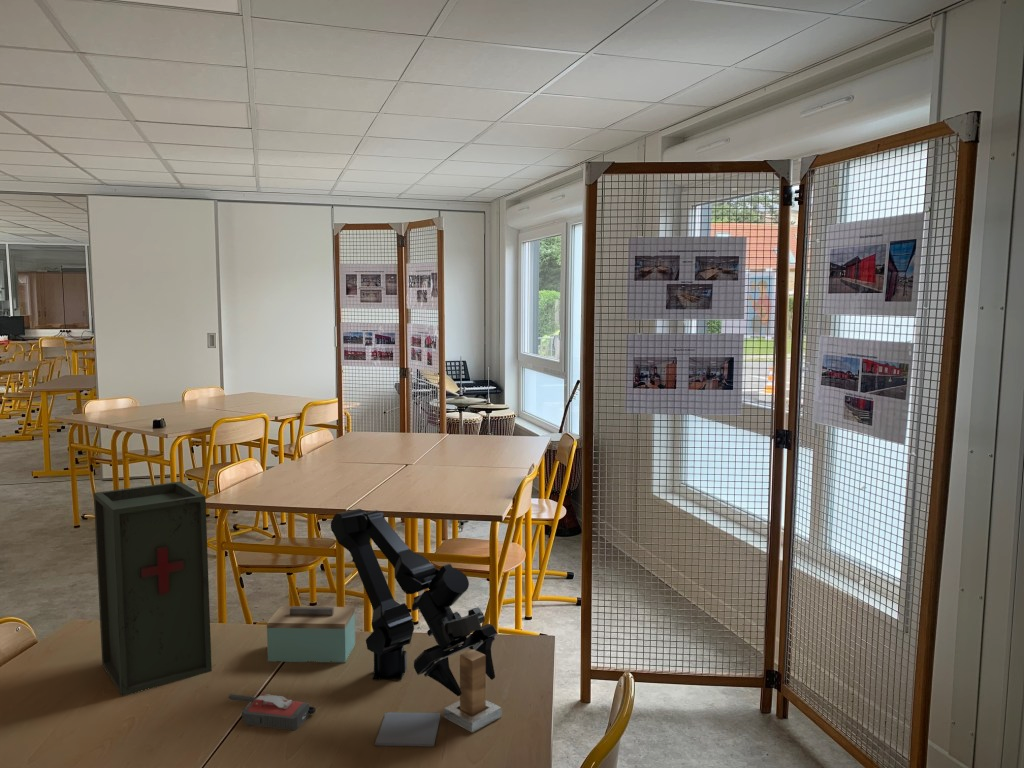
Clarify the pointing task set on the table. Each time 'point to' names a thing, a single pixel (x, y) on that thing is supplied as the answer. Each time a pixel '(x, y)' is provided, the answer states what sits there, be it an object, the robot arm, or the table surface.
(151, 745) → the table surface
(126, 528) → the first aid box
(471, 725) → the white square ring
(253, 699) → the walkie-talkie
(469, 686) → the tall wooden block
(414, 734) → the grey square plate
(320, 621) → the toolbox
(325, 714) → the table surface
